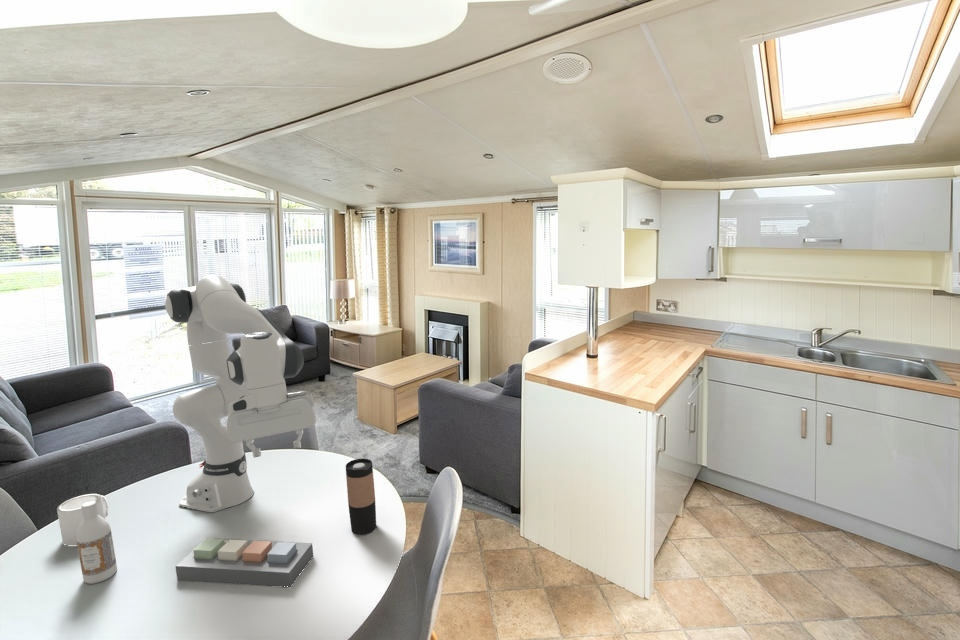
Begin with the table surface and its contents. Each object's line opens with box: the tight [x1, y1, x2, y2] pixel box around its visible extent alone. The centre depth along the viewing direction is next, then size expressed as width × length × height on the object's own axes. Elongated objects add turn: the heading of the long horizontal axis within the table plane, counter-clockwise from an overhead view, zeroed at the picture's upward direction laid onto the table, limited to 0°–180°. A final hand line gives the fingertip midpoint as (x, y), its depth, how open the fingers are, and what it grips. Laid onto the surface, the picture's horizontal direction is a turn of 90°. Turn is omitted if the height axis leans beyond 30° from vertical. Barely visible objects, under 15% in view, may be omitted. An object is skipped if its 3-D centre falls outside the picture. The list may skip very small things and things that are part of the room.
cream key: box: [218, 539, 248, 561], centre depth 128 cm, size 5×5×4 cm
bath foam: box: [76, 501, 118, 585], centre depth 126 cm, size 7×7×20 cm
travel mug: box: [345, 458, 377, 536], centre depth 143 cm, size 8×8×20 cm
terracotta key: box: [242, 540, 272, 562], centre depth 127 cm, size 5×5×4 cm
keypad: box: [175, 537, 314, 588], centre depth 128 cm, size 30×12×4 cm, turn 82°
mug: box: [56, 493, 109, 545], centre depth 146 cm, size 14×10×11 cm
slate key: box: [267, 541, 297, 564], centre depth 126 cm, size 5×5×4 cm
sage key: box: [192, 537, 225, 560], centre depth 129 cm, size 5×5×4 cm
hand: (277, 452), depth 122 cm, fingers open, 8 cm apart
